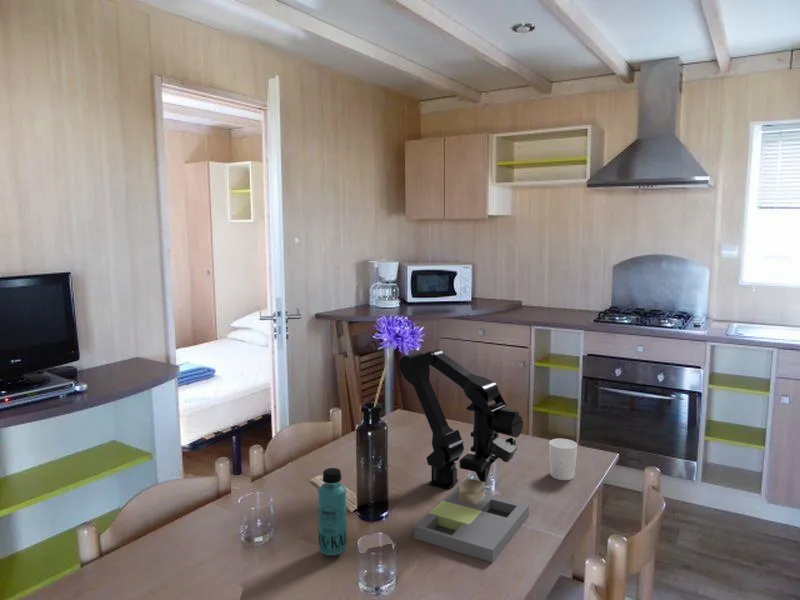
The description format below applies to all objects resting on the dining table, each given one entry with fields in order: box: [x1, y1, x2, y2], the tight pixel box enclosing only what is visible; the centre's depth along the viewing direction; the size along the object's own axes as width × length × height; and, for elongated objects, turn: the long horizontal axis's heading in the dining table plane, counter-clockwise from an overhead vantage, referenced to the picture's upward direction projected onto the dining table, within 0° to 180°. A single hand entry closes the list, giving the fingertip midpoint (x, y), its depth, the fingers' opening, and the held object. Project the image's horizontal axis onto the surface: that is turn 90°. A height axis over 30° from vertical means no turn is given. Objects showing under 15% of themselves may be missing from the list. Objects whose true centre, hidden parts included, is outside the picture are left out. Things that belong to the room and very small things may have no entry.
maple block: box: [459, 477, 486, 504], centre depth 153 cm, size 5×5×4 cm
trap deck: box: [413, 487, 530, 564], centre depth 145 cm, size 20×24×3 cm
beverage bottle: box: [317, 467, 348, 556], centre depth 133 cm, size 6×7×20 cm
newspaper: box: [310, 474, 358, 514], centre depth 164 cm, size 24×7×2 cm, turn 36°
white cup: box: [548, 438, 578, 481], centre depth 173 cm, size 8×8×10 cm
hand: (483, 483), depth 160 cm, fingers closed
